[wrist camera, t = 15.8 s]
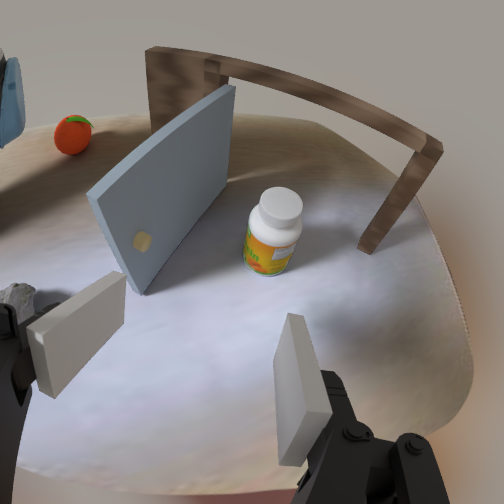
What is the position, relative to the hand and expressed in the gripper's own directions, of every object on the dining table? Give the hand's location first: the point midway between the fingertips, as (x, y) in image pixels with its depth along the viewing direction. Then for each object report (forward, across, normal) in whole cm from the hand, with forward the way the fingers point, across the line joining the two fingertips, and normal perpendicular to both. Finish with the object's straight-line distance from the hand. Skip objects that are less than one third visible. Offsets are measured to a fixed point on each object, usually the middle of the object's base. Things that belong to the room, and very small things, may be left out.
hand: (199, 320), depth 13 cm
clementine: (+31, -31, +8) cm, 45 cm away
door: (+21, -6, 0) cm, 22 cm away
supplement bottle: (+21, +4, -1) cm, 21 cm away
